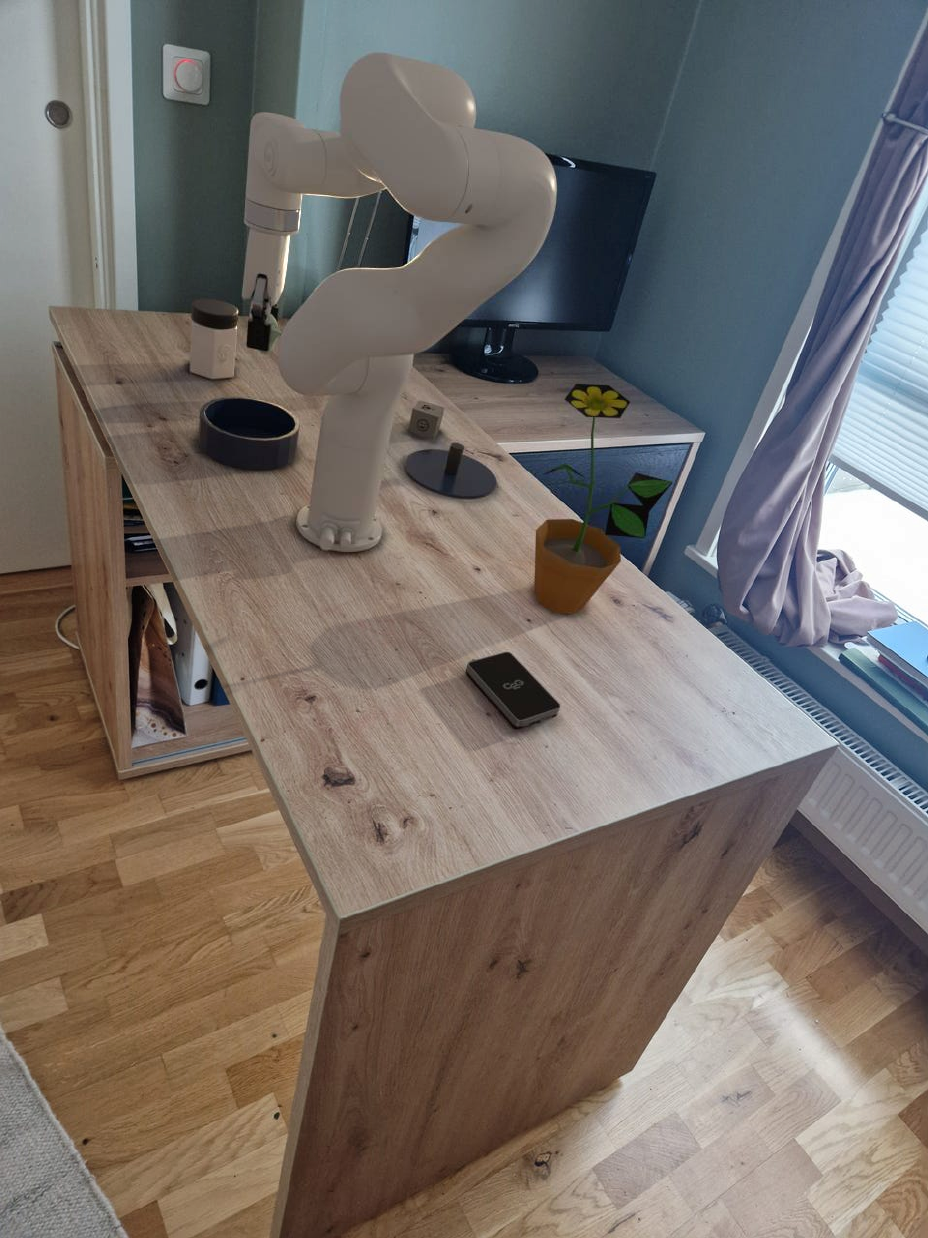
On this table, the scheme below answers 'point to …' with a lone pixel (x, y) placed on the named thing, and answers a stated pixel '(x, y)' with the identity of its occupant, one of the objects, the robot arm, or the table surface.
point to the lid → (450, 472)
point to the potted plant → (576, 550)
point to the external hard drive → (512, 690)
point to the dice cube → (426, 419)
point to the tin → (248, 433)
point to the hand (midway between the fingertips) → (261, 339)
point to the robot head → (272, 334)
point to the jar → (213, 338)
